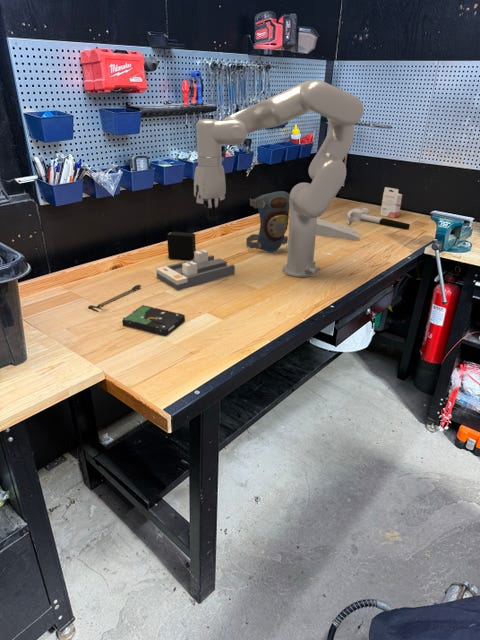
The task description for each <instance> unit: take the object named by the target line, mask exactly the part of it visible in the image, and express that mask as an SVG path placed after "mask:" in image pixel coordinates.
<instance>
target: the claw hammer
mask: <svg viewBox="0 0 480 640" xmlns="http://www.w3.org/2000/svg"><path fill="white" fill-rule="evenodd" d="M369 214H370V210H369V209H368V208H367V207H362V208H361V209H360V208H352V209H350V210H349V211H348V212H347V215H346V216H347V217H346V225H347V226H350V222H360V221H362V220H364V221H367V222H371V223H376V224H380V225H382V226H387V227H391V228H397V229H401V230H406V231H407V230H409V229H410V223H408V222H407V223H406V222H404V221H403V222H402V221H398V220H393V219H390V218H389V219H388V218H383V217H379V216H374V215H369Z"/></svg>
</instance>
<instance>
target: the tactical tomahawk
mask: <svg viewBox="0 0 480 640" xmlns="http://www.w3.org/2000/svg"><path fill="white" fill-rule="evenodd" d="M140 288H142V285H141V284H137V285H134V286H132V288H131V289H130V290H126V291H124V292H122V293H120V294H118V295H115V296H113V297H111V298H110V299H107V300H105V301H103V302H101V303H99V304H97V305H96V306H95V305H92V304H91V305H88V307H87V308H88V309H89V310H92V311H93V312H96V313H99V312H100V311H99V310H104V309H103V308H104V307H105V306H106V305H108V304H110V303H111V304H112V302H115V301H117V300H119V299H122V298H123V297H125V296H128V295H130V294H133V293H134V292H136V291H137V290H138V289H140ZM98 309H99V310H98Z"/></svg>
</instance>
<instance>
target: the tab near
mask: <svg viewBox="0 0 480 640" xmlns="http://www.w3.org/2000/svg"><path fill="white" fill-rule="evenodd" d="M182 270H183V276H185V277H187V276H191V275H195V274H197V264H196V263H195V262H193V261H191V262H188V261H187V262H186V263H183V264H182Z"/></svg>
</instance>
